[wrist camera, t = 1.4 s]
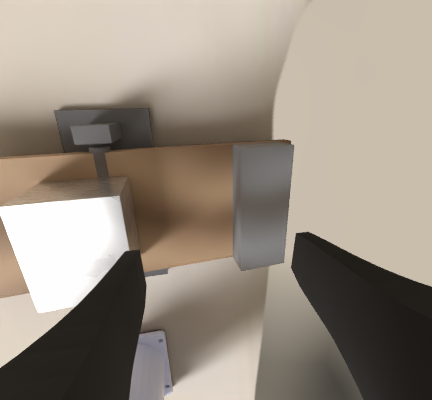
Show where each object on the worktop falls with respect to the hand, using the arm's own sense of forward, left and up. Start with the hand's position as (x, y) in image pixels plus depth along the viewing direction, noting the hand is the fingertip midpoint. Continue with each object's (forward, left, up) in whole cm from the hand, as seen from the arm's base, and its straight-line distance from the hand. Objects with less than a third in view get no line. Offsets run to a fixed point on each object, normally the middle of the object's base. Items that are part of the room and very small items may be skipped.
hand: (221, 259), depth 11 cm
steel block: (0, +7, -6) cm, 9 cm away
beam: (0, +6, -7) cm, 9 cm away
